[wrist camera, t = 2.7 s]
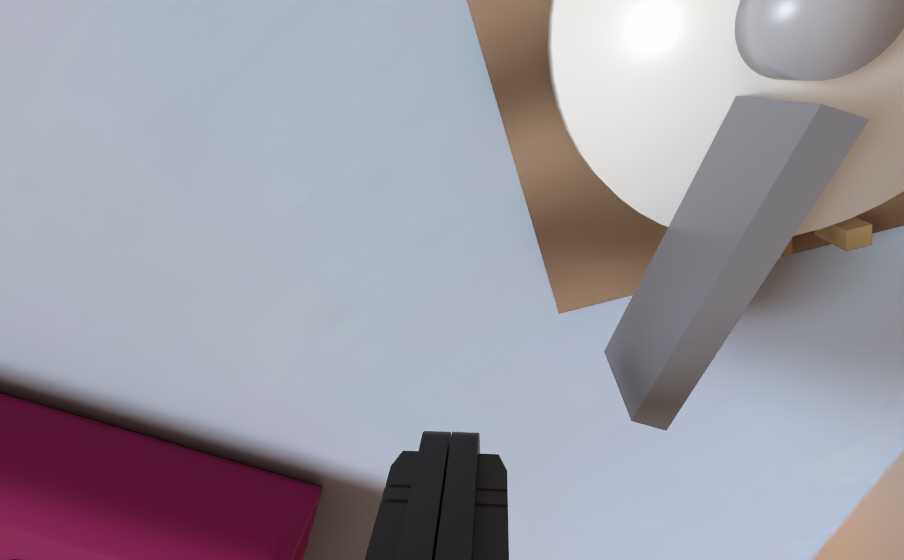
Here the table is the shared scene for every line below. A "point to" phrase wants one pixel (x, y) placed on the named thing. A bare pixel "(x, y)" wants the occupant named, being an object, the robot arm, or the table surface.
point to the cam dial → (724, 151)
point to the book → (136, 496)
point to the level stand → (590, 173)
